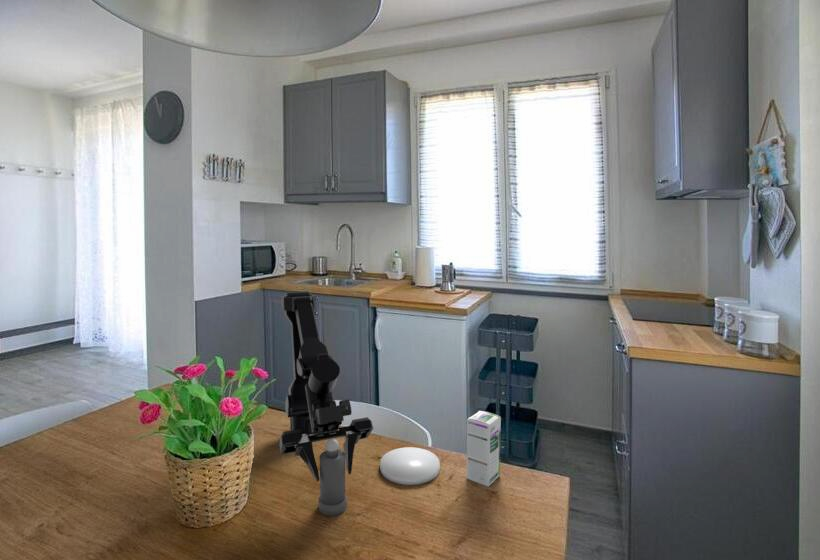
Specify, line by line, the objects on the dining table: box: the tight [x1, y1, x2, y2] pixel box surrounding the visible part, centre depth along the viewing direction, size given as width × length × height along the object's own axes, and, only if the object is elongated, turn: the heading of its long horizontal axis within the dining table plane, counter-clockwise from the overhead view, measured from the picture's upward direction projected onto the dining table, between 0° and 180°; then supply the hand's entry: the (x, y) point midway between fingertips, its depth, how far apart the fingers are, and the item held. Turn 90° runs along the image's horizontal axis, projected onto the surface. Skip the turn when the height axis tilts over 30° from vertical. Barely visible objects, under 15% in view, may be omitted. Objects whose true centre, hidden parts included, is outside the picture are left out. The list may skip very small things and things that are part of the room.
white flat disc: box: [379, 446, 441, 486], centre depth 103 cm, size 14×14×2 cm
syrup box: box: [466, 410, 502, 487], centre depth 98 cm, size 6×6×14 cm
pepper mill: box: [318, 438, 348, 517], centre depth 87 cm, size 6×6×14 cm
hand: (334, 477), depth 86 cm, fingers open, 6 cm apart
